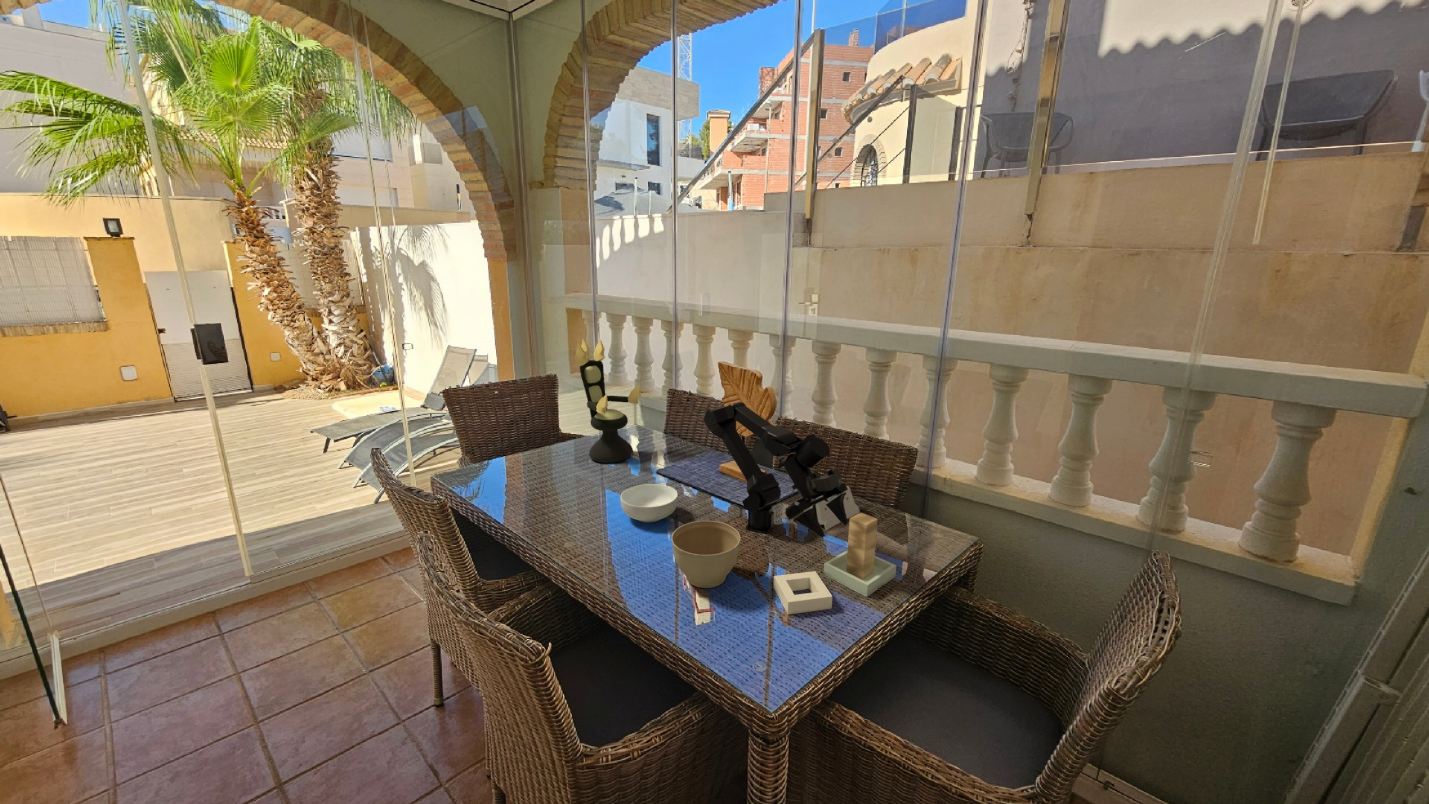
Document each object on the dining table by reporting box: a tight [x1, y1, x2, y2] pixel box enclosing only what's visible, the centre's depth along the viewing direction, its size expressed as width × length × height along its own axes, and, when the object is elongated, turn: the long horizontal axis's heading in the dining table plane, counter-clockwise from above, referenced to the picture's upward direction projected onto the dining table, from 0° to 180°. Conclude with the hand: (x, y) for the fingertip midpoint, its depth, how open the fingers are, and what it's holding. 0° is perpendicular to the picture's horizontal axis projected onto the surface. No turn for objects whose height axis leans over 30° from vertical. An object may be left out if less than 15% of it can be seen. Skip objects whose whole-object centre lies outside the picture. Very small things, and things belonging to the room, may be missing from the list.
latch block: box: [773, 570, 833, 615], centre depth 121 cm, size 10×10×3 cm
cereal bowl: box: [620, 483, 679, 523], centre depth 160 cm, size 17×17×7 cm
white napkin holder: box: [810, 485, 861, 531], centre depth 159 cm, size 17×5×10 cm, turn 131°
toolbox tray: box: [823, 549, 897, 598], centre depth 130 cm, size 12×12×3 cm
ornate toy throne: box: [574, 338, 642, 464], centre depth 204 cm, size 19×22×45 cm
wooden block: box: [846, 512, 878, 580], centre depth 128 cm, size 4×4×14 cm
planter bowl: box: [671, 520, 741, 589], centre depth 128 cm, size 16×16×11 cm
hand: (835, 530), depth 133 cm, fingers open, 9 cm apart
